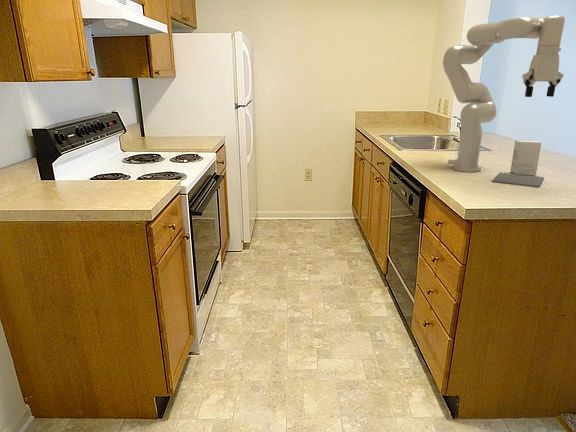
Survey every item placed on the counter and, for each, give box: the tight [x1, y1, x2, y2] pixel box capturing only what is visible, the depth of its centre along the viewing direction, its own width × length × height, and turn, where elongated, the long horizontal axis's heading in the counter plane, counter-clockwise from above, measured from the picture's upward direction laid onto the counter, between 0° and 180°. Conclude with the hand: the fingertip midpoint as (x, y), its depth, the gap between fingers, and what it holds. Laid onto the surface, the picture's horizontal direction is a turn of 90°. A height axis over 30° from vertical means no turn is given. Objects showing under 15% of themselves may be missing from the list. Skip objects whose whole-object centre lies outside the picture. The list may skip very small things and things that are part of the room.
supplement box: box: [510, 139, 542, 176], centre depth 191 cm, size 9×9×15 cm
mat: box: [491, 172, 545, 188], centre depth 181 cm, size 18×19×1 cm
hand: (539, 96), depth 167 cm, fingers open, 9 cm apart
